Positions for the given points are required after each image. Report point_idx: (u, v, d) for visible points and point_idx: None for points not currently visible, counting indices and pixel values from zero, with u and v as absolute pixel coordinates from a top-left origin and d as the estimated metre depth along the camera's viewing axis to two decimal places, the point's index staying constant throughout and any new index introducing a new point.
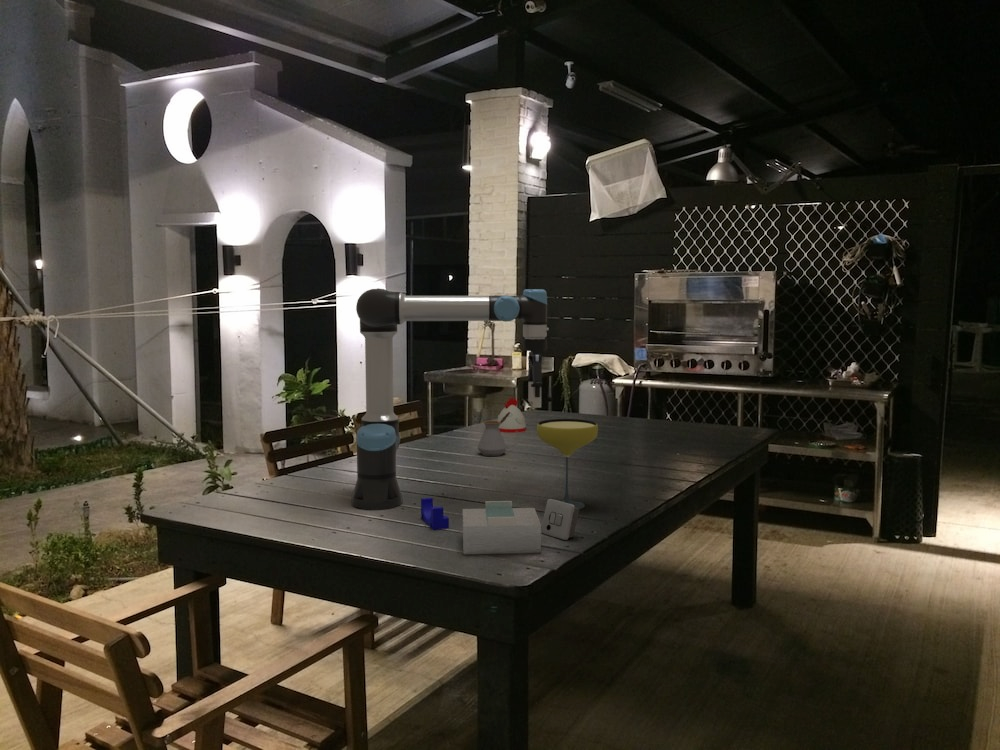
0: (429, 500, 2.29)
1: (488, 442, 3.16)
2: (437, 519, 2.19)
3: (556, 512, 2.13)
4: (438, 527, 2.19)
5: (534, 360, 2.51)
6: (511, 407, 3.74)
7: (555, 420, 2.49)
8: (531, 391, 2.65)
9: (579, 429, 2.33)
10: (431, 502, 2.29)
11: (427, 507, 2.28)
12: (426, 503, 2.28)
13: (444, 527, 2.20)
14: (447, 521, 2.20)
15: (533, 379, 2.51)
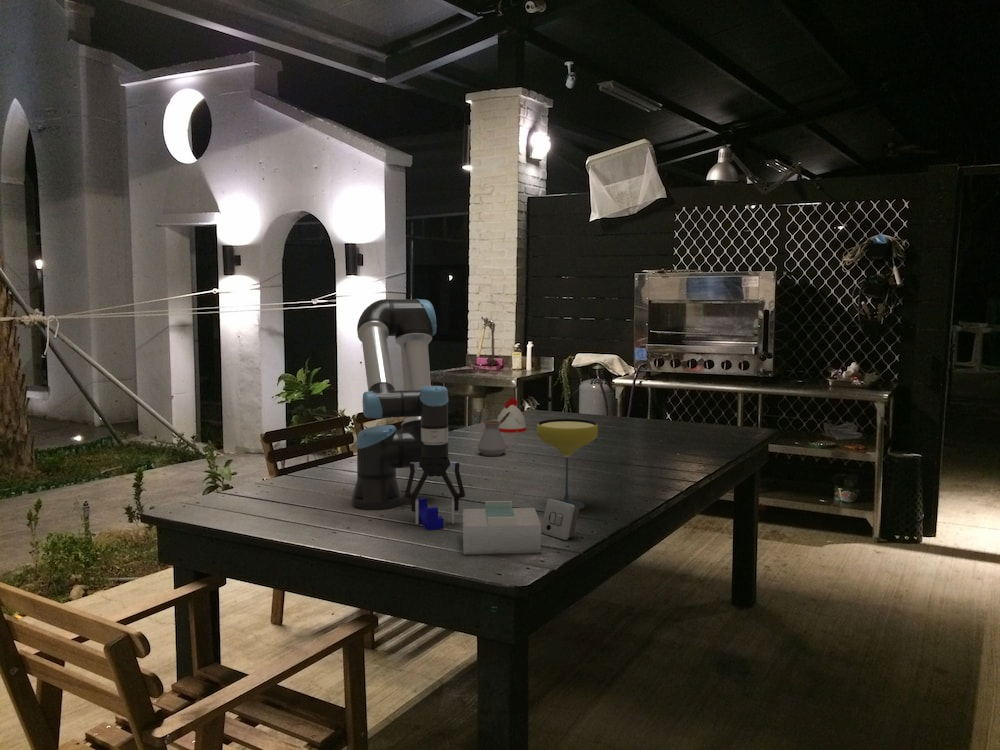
0: (423, 500, 2.28)
1: (488, 442, 3.16)
2: (431, 519, 2.18)
3: (556, 512, 2.13)
4: (433, 527, 2.19)
5: None
6: (511, 407, 3.74)
7: (555, 420, 2.49)
8: None
9: (579, 429, 2.33)
10: (425, 502, 2.28)
11: (422, 508, 2.28)
12: (420, 503, 2.28)
13: (439, 527, 2.19)
14: (442, 521, 2.20)
15: (414, 490, 2.25)
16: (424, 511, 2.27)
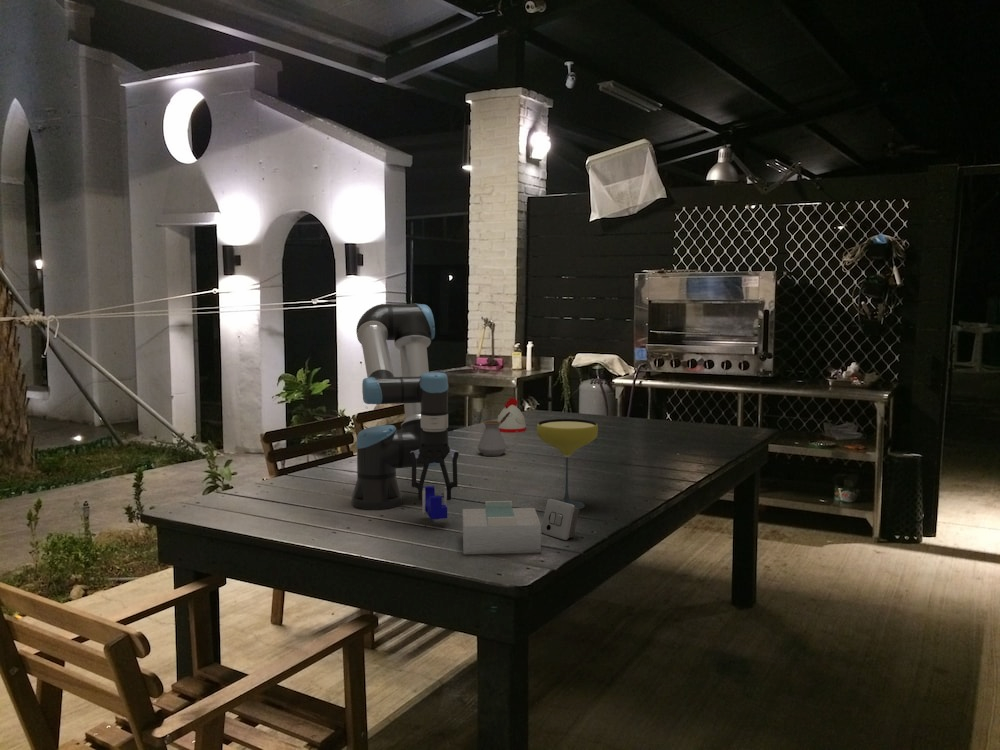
0: (431, 489, 2.29)
1: (488, 442, 3.16)
2: (435, 508, 2.19)
3: (556, 512, 2.13)
4: (436, 516, 2.19)
5: None
6: (511, 407, 3.74)
7: (555, 420, 2.49)
8: None
9: (579, 429, 2.33)
10: (433, 491, 2.29)
11: (429, 496, 2.28)
12: (428, 492, 2.28)
13: (442, 516, 2.20)
14: (445, 510, 2.20)
15: None
16: None
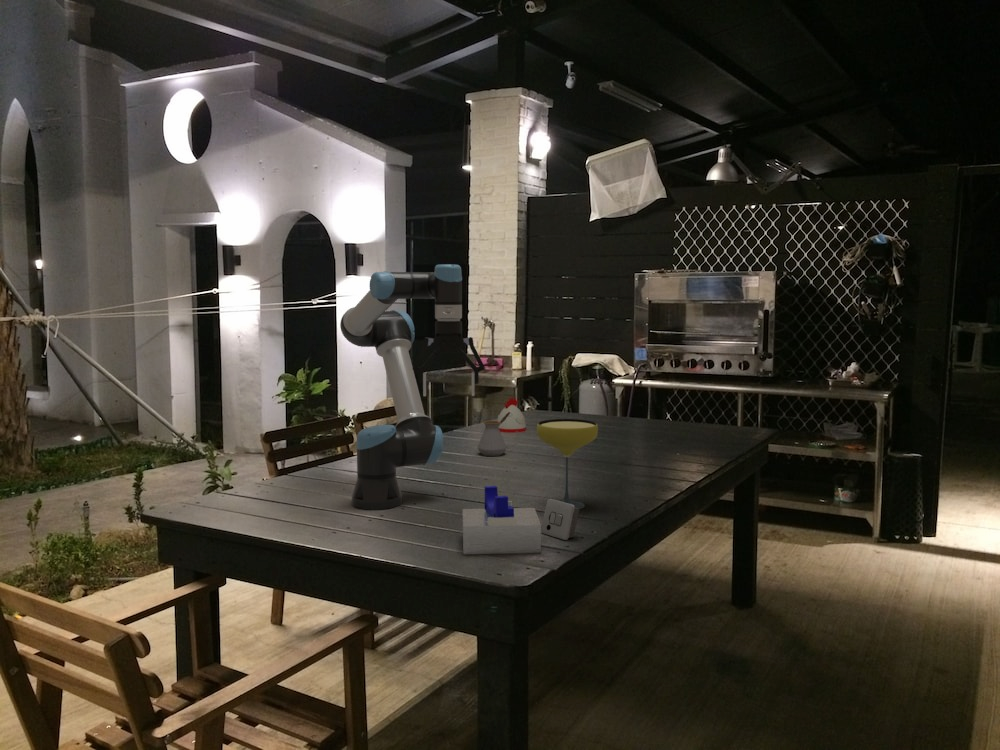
0: (493, 489, 2.10)
1: (488, 442, 3.16)
2: (501, 509, 2.00)
3: (556, 512, 2.13)
4: None
5: None
6: (511, 407, 3.74)
7: (555, 420, 2.49)
8: None
9: (579, 429, 2.33)
10: (495, 491, 2.10)
11: (491, 497, 2.09)
12: (490, 492, 2.09)
13: None
14: (512, 512, 2.00)
15: None
16: (494, 500, 2.09)
